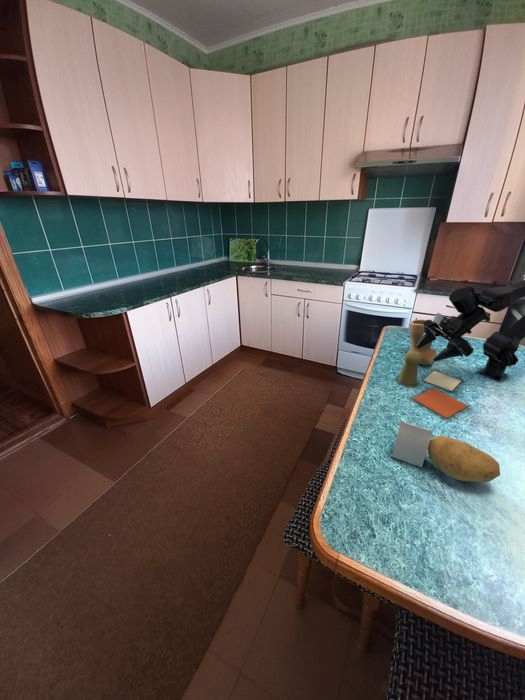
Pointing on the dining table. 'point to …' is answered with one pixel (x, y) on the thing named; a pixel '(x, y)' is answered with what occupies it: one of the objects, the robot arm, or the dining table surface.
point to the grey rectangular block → (412, 443)
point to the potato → (462, 460)
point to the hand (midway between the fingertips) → (424, 353)
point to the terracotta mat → (440, 403)
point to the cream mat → (442, 381)
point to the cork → (410, 369)
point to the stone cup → (415, 335)
